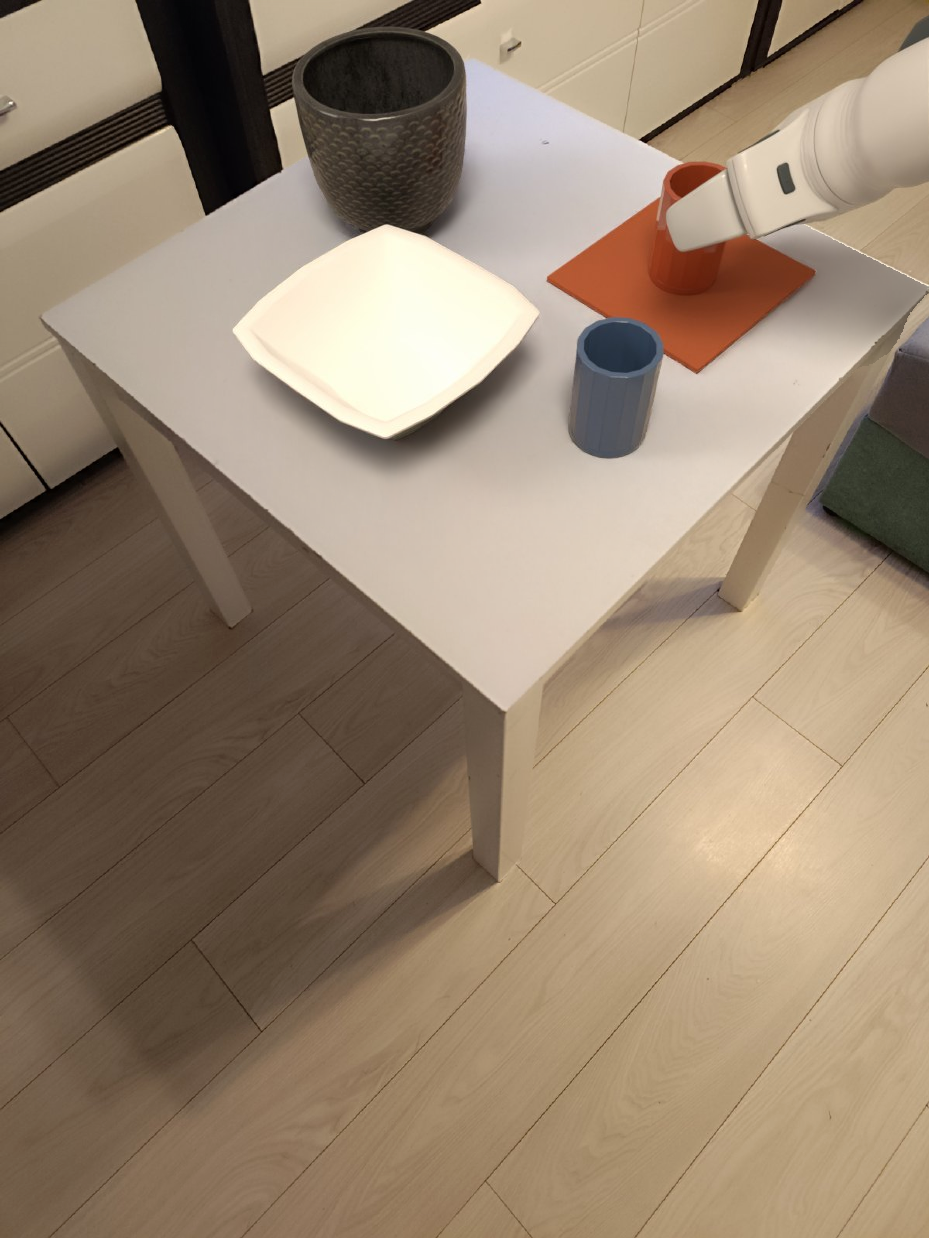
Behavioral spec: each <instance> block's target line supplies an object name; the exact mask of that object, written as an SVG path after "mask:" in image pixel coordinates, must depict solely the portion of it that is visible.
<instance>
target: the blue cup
mask: <svg viewBox="0 0 929 1238" xmlns="http://www.w3.org/2000/svg"><path fill="white" fill-rule="evenodd" d="M663 359H664V353H663V342H662V340H661V338H660V337H659V335H658V333H657V332H656V331H655V330H653V329H652V328H651V327H649V326H648V325H647V324H645V323H643V322H640V321H637V320H634V319H631V318H621V317H611V318H603V319H599V320H596V321H594V322H593V323H591V324H589V325H587V326H586V327H584V329H583V330H582V332H581V333H580V335H579V336H578V337H577V342H576V350H575V360H574V368H573V369H574V370H573V381H572V387H571V388H572V389H571V400H570V408H569V418H568V419H569V421H568V433H569V437H570V438H571V440H572V442H573V443H574V444H575V446H576V447H577V448H579V449H580V450H581V451H582V452H584V453H586V454H588V455H590V456H593V457H597V458H601V459H617V458H621V457H625V456H628V455H630V454H632V453H634V452H635V451H636V450H637V449H639V447H641V445H642V444H643V442H644V440H645V437H646V434H647V432H648V428H649V423H650V419H651V414H652V410H653V406H654V405H653V404H654V401H655V400H654V399H655V396H656V391H657V386H658V381H659V377H660V373H661V367H662V363H663Z"/></svg>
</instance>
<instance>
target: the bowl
mask: <svg viewBox="0 0 929 1238" xmlns="http://www.w3.org/2000/svg"><path fill="white" fill-rule="evenodd" d="M540 314H541V312H540V310H539V309H538V308H537V307H536V306H534V304H533V303H532V302H531V301H529V299H527V297H526V296H524V295H523V294H522V293H521V292H520V291H519V290H518V289H517V288H516V287H515V286H513V285H512V284H511V283H509V282H507V281H505V280H504V279H502V278H500V276H497V275H495V274H493V273H492V272H490V271H489V270H487V269H485V268H483V267H481V266H480V265H478V264H476V263H474V262H473V261H471V260H469V259H468V258H465V257H464V256H463V255H461V254H458V253H457V252H455V251H453V250H452V249H450V248H448V247H446V246H444V245H443V244H440V243H438V242H437V241H435V240H433V239H431V238H430V237H428V236H426V235H423V234H417V233H413V232H410V231H407V230H404V229H401V228H397V227H394V226H391V225H383V226H380V227H378V228H376V229H373V230H371V231H369V232H366V233H364V234H363V233H362V234H360V235H357V236H355V237H353V238H350V239H349V240H346V241H344V242H342V243H341V244H339V245H337V246H336V247H334V248H332V249H330V250H328V251H327V252H325V253H323V254H321V255H319V256H318V257H317V258H315V259H313V260H312V261H310V262H308V263H306V264H305V265H303V266H301V267H299V268H298V270H296V271H294V273H292V274H291V275H290V276H288V277H287V278H286V279H285V280H283V281H282V282H280V283H279V284H277V286H276V287H274V288H273V289H272V290H270V291H269V292H268V293H267V294H265V295H264V296H263V297H261V298H260V299H259V300H258V301H257V302H256V303H255V305H253V307H252V308H251V309H249V311H248V312H247V313H246V314H245V315H243V317H242V318H241V319H240V320H239V322H238V323H237V324H235V326H234V327H232V333H233V336H235V338H236V339H237V340H238V341H239V343H240V344H241V345H242V347H243V348H244V349H245V351H246V352H247V353H248V355H249V356H250V357H251V359H252V361H253V362H255V363H256V364H258V365H260V366H261V367H262V368H263V369H265V370H266V371H268V372H269V373H270V374H272V376H274V377H276V379H279V380H280V381H281V382H282V383H284V385H287V386H288V387H289V388H291V389H292V390H293V391H295V392H296V393H297V394H299V395H300V396H302V397H304V398H305V399H307V401H309V402H311V403H312V404H314V405H315V406H317V407H318V408H319V409H321V410H323V411H324V412H325V413H327V415H330V416H331V417H332V418H334V419H336V420H337V421H339V422H340V423H342V424H344V425H347V426H349V427H353V428H355V429H357V430H360V431H362V432H365V433H367V434H370V435H372V436H375V437H378V438H381V439H383V440H387V439H389V440H391V441H397V440H400V439H403V438H404V437H406V436H408V435H410V434H412V433H414V432H416V431H418V430H420V428H422V427H424V426H425V425H426V424H428V423H429V422H430V421H432V420H433V419H435V418H437V417H438V416H439V415H440V414H441V413H442V412H443V411H444V410H445V409H446V408H447V407H448V406H449V405H451V404H453V403H454V402H455V401H457V400H458V399H460V398H461V397H462V396H464V395H465V394H467V393H469V391H471V390H472V389H474V388H475V387H477V386H478V385H479V384H481V383H482V382H483V381H484V380H485V379H486V378H487V377H488V376H489V375H490V374H491V373H492V372H493V371H494V370H495V369H496V368H497V367H498V366H499V365H501V363H502V362H503V361H504V360H506V359H507V358H508V356H509V355H511V354H512V352H513V351H515V349H517V348H518V347H519V345H520V344H521V342H522V341H523V340H524V338H525V337H526V335H527V334H528V333H529V331H531V328H532V327H533V326H534V324H535V323H536V321H537V320H538V319H539V317H540Z"/></svg>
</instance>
